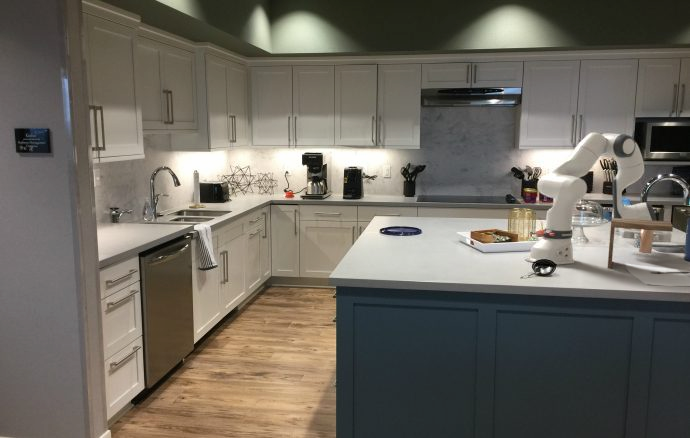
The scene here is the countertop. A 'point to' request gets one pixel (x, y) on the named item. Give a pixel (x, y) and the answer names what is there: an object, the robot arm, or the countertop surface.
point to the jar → (646, 241)
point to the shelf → (635, 225)
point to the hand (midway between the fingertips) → (646, 238)
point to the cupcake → (538, 231)
